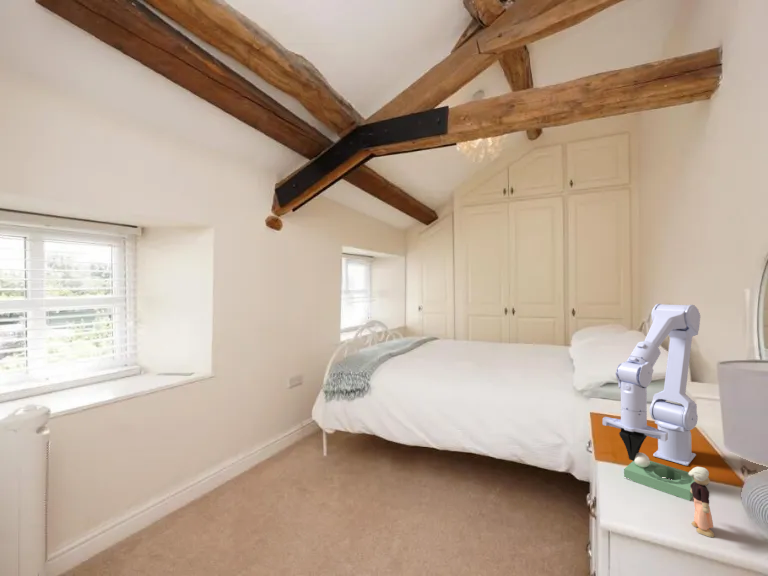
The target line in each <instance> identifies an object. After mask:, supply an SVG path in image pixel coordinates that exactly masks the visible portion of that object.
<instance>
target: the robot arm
mask: <svg viewBox="0 0 768 576" xmlns="http://www.w3.org/2000/svg"><path fill="white" fill-rule="evenodd" d="M700 313H701V312H700V311H699V309H698V307H697V306H696V305H695V304H666V303H664V304H663V303H656V304H655V305H654V306H653V308H652V309H651V315H650V316H651V321H652V322H651V325H650V327H649V329H648V332H647V333H646V336H645V338H644V341H638V342H637V343H636V345H635V347H634V348H633V350H632V352H631V353H630V355H629V356H628V358H627V359H626V361H623V362H621V363H619V364H618V365H617V367H616V371H615V378H616V380H617V385H618V386H617V387H618V389H620V418H612V417H609V416H603V418H602V426H606V427H607V426H609V427H611V428H612V427H613V428H616V429H620V431H619V433H618V435H619V437H620V438H621V440H622V442H623V445H624V446H625V449H626V452H627V457H628V460H630V461H634V460H635V456H636V454H637V453H639V452H640V449H641V448H642V445H643V444H644V441H645V440H646V438H647V437H650V438H653V439H657V450H656V451H655V452H654V453H653V455H652V456H653V457H656V458H659V459H662V460H665V461H670V462H674V463H676V464H680V465H683V466H686V467H687V466H689V465H690V464H691V462H692V461H693V460H694V458H695V457H697V454H696V453H694V452H692V433H691V430H693V429H694V428H696V426H697V424H698V419H699V418H698V413H697V410H698V409H697V403H696V402H695V401H694V400H693V399H691V397H689V396H688V395H687V394H686V392H687V383H688V376H689V366H690V359H691V352H692V344H693V343H692V341H693V337H695V336H697V335H699V331H700V325H701V323H700V322H701V314H700ZM667 337H669V345H668V354H667V361H666V370H665V376H664V377H665V378H664V385H663V390H661V391H658V392H657V393H656V392H655V393H654V394H653V397H652V401H651V403H650V405H649V414H650V418H651V419H652V420H653V421H654V424H656V425H657V428H656V427H653V426H650V425H648V424H647V423H648V422H647V419H648V418H647V417H648V416H647V415H648V414H647V413H648V410H647V408H648V407H647V404H648V403H647V402H648V401H647V397H648V396H647V395H648V394H647V393H648V391H647V389H648V388H647V387H649V385H650V384H651V383H652V379H653V374H654V366H655V365H656V362H657V361H658V359H659V357H660V356H661V354H662V353H661V349H660V346H661V345H662V343H663V342H664V341H665V340H666V338H667Z"/></svg>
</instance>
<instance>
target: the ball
mask: <svg viewBox="0 0 768 576" xmlns="http://www.w3.org/2000/svg"><path fill="white" fill-rule="evenodd" d="M650 461H651V460H650V458H649V456H648V455H647V454H646V453H644V452H640V451H639V453H637V454H636V456H635V460H634V463H635V464H636V465H637V466H639V467H643V468H644V467H647V466H648V465H649V464H650Z"/></svg>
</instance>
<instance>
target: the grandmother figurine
mask: <svg viewBox="0 0 768 576" xmlns="http://www.w3.org/2000/svg"><path fill="white" fill-rule="evenodd" d="M688 472H689V473H688V474H689V475H690V476H693V479H694V481H695V482H693V483H692V484H691V485H690V487H691V490H690V492H691V493H692V494H693V497H692V498H693V506H694V516H693V517H694V518H693V521H691V525H692V527H695V528H696V530H695V531H696V533H698V534H700V535H703V536H706V537H709V538H714V537H715V533H714V532H713V530H711V529H713V528H714V523H713V522H714V521H713V515H712V512H711V508H710V507H711V506H710V499H709V498H710V491H709V489H708V487H707V485H708V484H710V478H709V476H710V475H709V474H710V472H709V470H708V469H707V468H705V467H702V466H695V467H693V468H692V469H691V470H689V471H688Z"/></svg>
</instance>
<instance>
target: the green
mask: <svg viewBox="0 0 768 576" xmlns="http://www.w3.org/2000/svg"><path fill="white" fill-rule="evenodd" d="M689 472H690V471H686V470H683V469H679V468H677V467H672V466H669V465H665V464H663V463H659V462H655V461H652V460H650V464H649V465H648V466H647V467H644V468H643V467H639V466H637V465H636V464H635V463H634V461H633V460H631V462H630V463H629V464H628V465H627V466H626V467H624V468H623V476H624V477H626V478H629V479H631V480H633V481H632V482H634V481H635V482H634V483H637V484H641V485H643V486H645V487H648V488H649V487H650V488H651V489H654V490H658V491H660V492H662V493H663V492H664V493H667V494H669V495H671V496H672V495H673V496H675V497H678V498H681V499H684V500H686V501H689V502H690V501H691V500H692V499H693V498H694V497H693V494H692V493H691V492H690V490H691V487H690V485H691V484H692V483H693V482H695V481H694V479H693V476H690V475H689V474H688V473H689ZM624 477H623V478H624ZM662 477H666V478H662ZM667 478H670V479H672V480H670V479H667ZM631 480H630V481H631Z"/></svg>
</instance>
